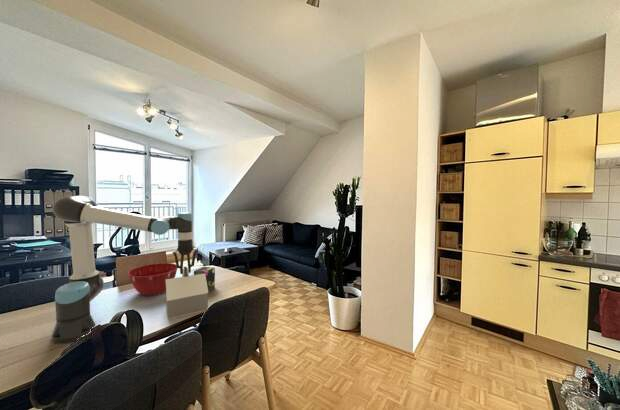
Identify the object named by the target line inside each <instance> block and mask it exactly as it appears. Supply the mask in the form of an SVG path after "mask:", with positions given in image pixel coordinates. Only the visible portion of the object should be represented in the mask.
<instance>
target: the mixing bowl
mask: <svg viewBox="0 0 620 410" xmlns="http://www.w3.org/2000/svg"><path fill="white" fill-rule="evenodd" d="M177 270H178V268H177V266H176V263H171V262H170V263H169V262H165V263H164V262H163V263H153V264H152V263H151V264H146V265H141V266H138V267H134V268H132V269H130V270H129V271H128V273H127V276H128V277H129V280H130V282H131V284H132V286H133V287H134V289H135V290H136V292H138V294H140V295H143V296H145V297H146V296H147V297H149V296H158V295H160V294H163V293H166V279H172V278H176V275H177V272H178V271H177Z"/></svg>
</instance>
